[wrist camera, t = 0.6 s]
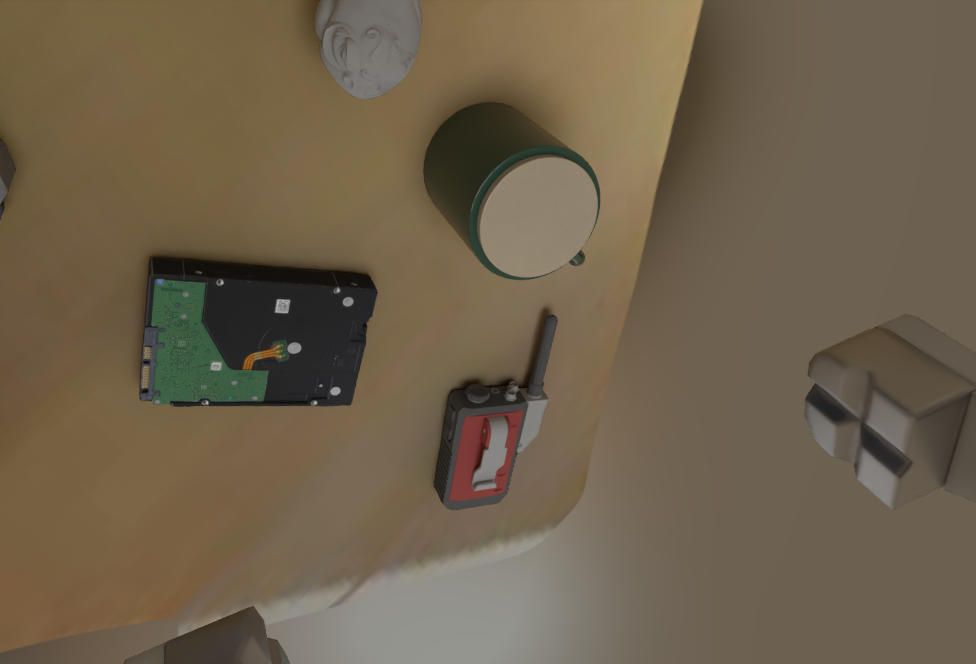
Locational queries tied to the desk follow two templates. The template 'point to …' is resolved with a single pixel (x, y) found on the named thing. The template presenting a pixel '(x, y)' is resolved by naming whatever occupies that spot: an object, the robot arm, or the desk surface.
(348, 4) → the grey round sculpted piece
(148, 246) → the desk surface
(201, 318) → the disk drive
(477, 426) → the walkie-talkie
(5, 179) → the instant camera
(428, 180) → the mug
